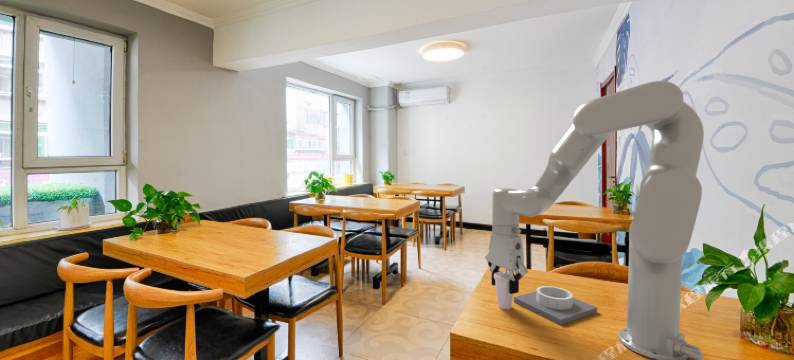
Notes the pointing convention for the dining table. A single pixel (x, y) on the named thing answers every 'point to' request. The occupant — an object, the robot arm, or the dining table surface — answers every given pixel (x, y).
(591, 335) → the dining table surface
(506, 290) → the smoothie
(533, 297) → the duct collar
